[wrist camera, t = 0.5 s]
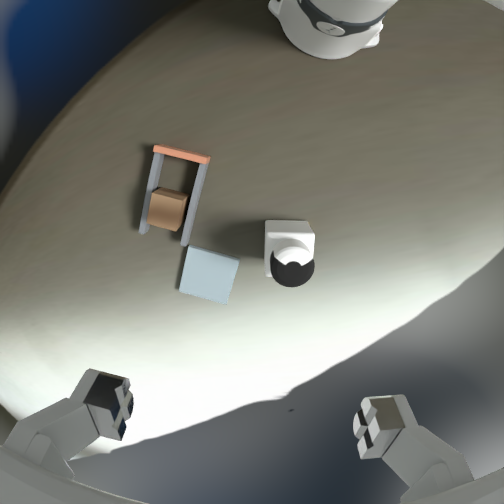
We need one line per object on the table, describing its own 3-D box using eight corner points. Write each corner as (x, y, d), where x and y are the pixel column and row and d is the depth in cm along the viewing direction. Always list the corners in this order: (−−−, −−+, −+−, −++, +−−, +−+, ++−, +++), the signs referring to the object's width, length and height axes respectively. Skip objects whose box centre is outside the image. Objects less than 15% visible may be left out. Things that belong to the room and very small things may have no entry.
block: (161, 187, 50) (152, 192, 45) (189, 194, 50) (182, 200, 45) (155, 214, 51) (146, 223, 47) (183, 222, 52) (175, 231, 47)
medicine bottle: (305, 260, 54) (316, 293, 43) (264, 259, 54) (265, 293, 43) (308, 220, 51) (321, 245, 40) (265, 219, 51) (267, 244, 40)
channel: (161, 144, 47) (154, 145, 44) (210, 156, 48) (207, 157, 44) (143, 228, 52) (136, 234, 49) (188, 241, 53) (184, 248, 50)
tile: (189, 244, 53) (188, 246, 52) (239, 258, 54) (239, 261, 53) (180, 288, 56) (178, 291, 55) (226, 301, 57) (226, 304, 56)
